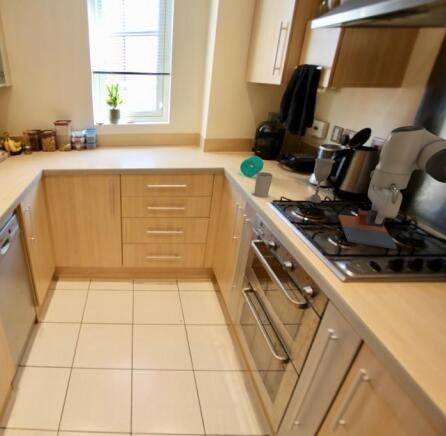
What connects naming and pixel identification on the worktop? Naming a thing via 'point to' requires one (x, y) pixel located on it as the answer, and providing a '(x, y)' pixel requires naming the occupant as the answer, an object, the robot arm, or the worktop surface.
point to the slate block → (371, 217)
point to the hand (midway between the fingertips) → (375, 219)
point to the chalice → (321, 175)
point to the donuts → (247, 167)
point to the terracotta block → (362, 217)
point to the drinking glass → (262, 184)
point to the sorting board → (365, 233)
